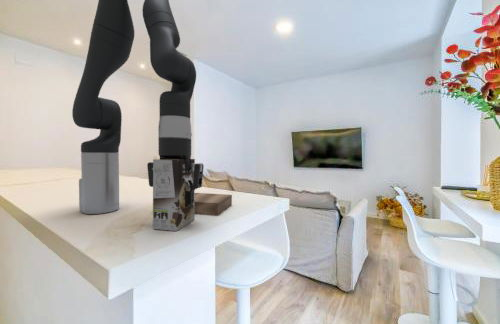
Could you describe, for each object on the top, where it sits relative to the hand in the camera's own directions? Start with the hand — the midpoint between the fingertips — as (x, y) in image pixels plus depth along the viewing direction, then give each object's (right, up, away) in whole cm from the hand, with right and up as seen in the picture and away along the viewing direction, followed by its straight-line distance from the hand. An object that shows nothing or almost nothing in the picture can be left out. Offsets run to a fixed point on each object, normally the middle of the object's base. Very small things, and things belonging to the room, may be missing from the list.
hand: (175, 205), depth 54 cm
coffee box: (0, -5, 0) cm, 5 cm away
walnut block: (+4, -5, +16) cm, 17 cm away
